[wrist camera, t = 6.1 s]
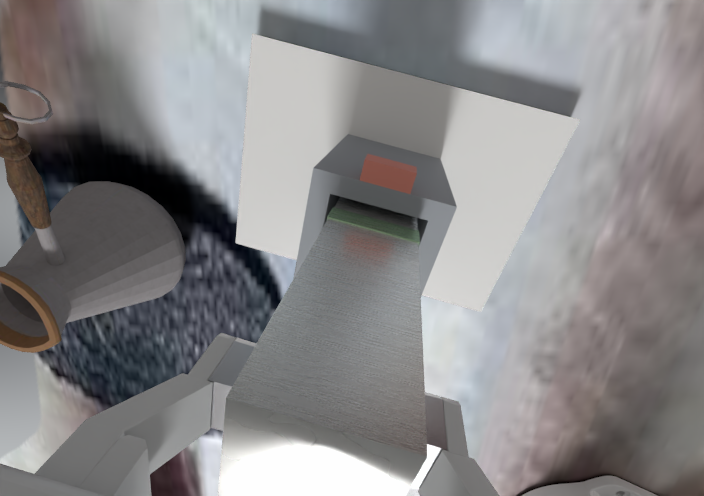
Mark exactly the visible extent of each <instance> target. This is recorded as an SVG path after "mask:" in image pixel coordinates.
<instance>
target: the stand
mask: <svg viewBox="0 0 704 496" xmlns="http://www.w3.org/2000/svg"><path fill="white" fill-rule="evenodd" d="M579 122H580V120H579V119H576V118H572V117H568V116H564V115H561V114H557V113H553V112H549V111H545V110H542V109H538V108H534V107H530V106H526V105H523V104H519V103H515V102H511V101H507V100H504V99H500V98H496V97H492V96H488V95H485V94H481V93H477V92H473V91H469V90H465V89H462V88H458V87H454V86H450V85H446V84H443V83H439V82H435V81H431V80H427V79H424V78H420V77H416V76H412V75H408V74H405V73H401V72H397V71H393V70H389V69H386V68H382V67H378V66H374V65H370V64H367V63H363V62H359V61H355V60H351V59H348V58H344V57H340V56H336V55H332V54H328V53H325V52H321V51H317V50H313V49H309V48H306V47H302V46H298V45H294V44H290V43H287V42H283V41H279V40H275V39H271V38H268V37H264V36H260V35H256V34H252V42H251V54H250V67H249V80H248V92H247V105H246V118H245V130H244V143H243V156H242V168H241V181H240V194H239V206H238V219H237V232H236V243H237V244H241V245H244V246H248V247H251V248H255V249H258V250H262V251H265V252H269V253H273V254H276V255H280V256H283V257H287V258H290V259H294V260H297V262H296V267H295V273H294V277H295V276H296V274H297V272H298V270H299V269H300V267H301V265H302V263H303V262H304V260H305V258H306V256H307V255H308V253H309V251H310V249H311V248H312V246H313V244H314V242H315V241H316V239H317V237H318V235H319V233H320V232H321V230H322V228H323V226H324V225H325V223H326V221H327V217H328V215H329V213H330V211H331V210H332V208H333V207H335V205H336V204H337V202H338V200H339V198H340V197H344V198H347V199H351V200H355V201H358V202H362V203H366V204H369V205H373V206H376V207H380V208H384V209H387V210H391V211H395V212H398V213H402V214H406V215H409V216H413V217H417V225H418V231H419V237H420V243H419V246H418V249H419V272H420V296H421V295H422V296H426V297H429V298H433V299H436V300H440V301H443V302H447V303H451V304H454V305H458V306H461V307H465V308H468V309H472V310H476V311H479V312H481V311H482V309H483V307H484V305H485V303H486V301H487V299H488V298H489V296H490V294H491V292H492V290H493V288H494V286H495V284H496V282H497V280H498V278H499V276H500V274H501V272H502V270H503V269H504V267H505V265H506V263H507V261H508V259H509V257H510V255H511V253H512V251H513V249H514V247H515V245H516V243H517V241H518V240H519V238H520V236H521V234H522V232H523V230H524V228H525V226H526V224H527V222H528V220H529V218H530V216H531V214H532V213H533V211H534V209H535V207H536V205H537V203H538V201H539V199H540V197H541V195H542V193H543V191H544V189H545V187H546V185H547V184H548V182H549V180H550V178H551V176H552V174H553V172H554V170H555V168H556V166H557V164H558V162H559V160H560V158H561V156H562V155H563V153H564V151H565V149H566V147H567V145H568V143H569V141H570V139H571V137H572V135H573V133H574V131H575V129H576V127H577V126H578V124H579Z"/></svg>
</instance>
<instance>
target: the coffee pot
mask: <svg viewBox="0 0 704 496" xmlns="http://www.w3.org/2000/svg"><path fill="white" fill-rule="evenodd" d="M7 86H10V87H15V88H20V89H24V90H27V91H29V92H31V93H34V94H36V95H38V96H40V97H41V98H42V99H43V100H44V101H45V103H46V104H47V105H48V107H49V111H48V112H47V113H46V115H45V116H44V117H40V118H35V119H25V118H20V117H15V116H12V114H11V113H10V112H9V111H8V109H7V108H6V106H5V105H4V104H2V103H0V157H3V158H4V161H5V166H6V173H7V182H8V184H9V186H10V188H11V189H12V191H13V193H14V195H15V197H16V198H17V200H18V202H19V204H20V205H21V207H22V209H23V211H24V212H25V214H26V216H27V217H28V219H29V221H30V223H31V224H32V226H33V227H34V228H35V231H34V233H33V234H32V235H31V236H30V237H29V239H28V240H27V241H26V242H25V243H24V245H23V246H22V247H21V248H20V249H19V251H18V252H17V253H16V254H15V255H14V256H13V258H12V259H11V260H10V261H9V262H8V264H7V265H6V266H4V267H0V344H2V345H5V346H7V347H9V348H11V349H15V350H18V351H22V352H32V353H34V352H39V351H43V350H46V349H48V348H50V347H53V346H54V345H56V344H57V343H59V342H60V341H61V335H62V332H63V330H64V327H65V324H66V323H68V322H71V321H75V320H79V319H82V318H86V317H90V316H93V315H97V314H101V313H104V312H108V311H111V310H115V309H119V308H122V307H126V306H130V305H133V304H137V303H141V302H144V301H148V300H152V299H155V298H159V297H161V296H163V295H164V294H166V293H168V292H169V291H171V290H172V289H173V288H174V286H175V285H176V284H177V283H178V281H179V280H180V278H181V275H182V271H183V268H184V265H185V245H184V242H183V239H182V235H181V232H180V231H179V229H178V227H177V225H176V223H175V222H174V220H173V218H172V217H171V216H170V215H169V214H168V212H167V211H166V210H165V209H164V208H163V207H162V206H161V205H160V204H159V203H157V202H156V201H155V200H154V199H152V198H151V197H150V196H149V195H147V194H145V193H143V192H141V191H139V190H137V189H135V188H133V187H131V186H127V185H123V184H119V183H115V182H109V181H96V182H87V183H84V184H82V185H79V186H76V187H74V188H73V189H72V190H71V191H70V192H68V193H67V194H66V195H65V196H64V197H63V198H62V199H61V200H60V202H59V203H58V204H57V205H56V206H55V208H54V209H53V210H52V211H51V212H50V213H49V209H48V204H47V200H46V195H45V191H44V186H43V182H42V178H41V176H40V175H39V173H38V172H37V171H36V169H35V167H34V166H33V164H32V163H31V161H30V159H29V158H28V155H29V154H30V151H31V147H30V144H29V143H28V142H27V141H26V140H25V139H23V138H21V137H19V136H18V134H17V132H18V129H19V128H18V125H17V122H22V123H28V124H36V123H40V122H45V121H47V120H48V119H49V118H50V117H51V116H52V115H53V113H52V109H51V105H50V102H49V101H48V99H47V98H46V97H45V96H44V95H43V94H42V93H41V92H40V91H37V90H35V89H33V88H30V87H28V86H26V85H23V84H18V83H13V82H8V81H5V82H0V87H7ZM16 121H17V122H16Z"/></svg>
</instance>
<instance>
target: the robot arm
mask: <svg viewBox="0 0 704 496" xmlns="http://www.w3.org/2000/svg"><path fill="white" fill-rule="evenodd" d="M255 346H256V343H252V342H249V341H246V340H243V339H240V338H236V337H233V336H229V335H226V334H223V333H220V334H219V335H218V336H216V338H215V339H214V340H213V342H212V343H211V344H210V346H209V347H208V348H207V350H206V351H205V352H204V354H203V355H202V356H201V358H200V359H199V360H198V362H197V363H196V364H195V366H194V367H193V368H192V370H191V371H190V372H189V374H188V375H187V374H183V373H182V374H180V375H178V376H176V377H174V378H172V379H170V380H168V381H166V382H164V383H162V384H159V385H157V386H155V387H153V388H151V389H149V390H147V391H145V392H143V393H141V394H139V395H136V396H134V397H132V398H130V399H128V400H126V401H124V402H122V403H120V404H118V405H116V406H113V407H111V408H109V409H107V410H105V411H103V412H101V413H99V414H97V415H95V416H93V417H90V418H88V419H86V420H85V421H84V422H83V423H82V424H81V425H80V426H79V427H78V428H77V430H76V431H75V432H74V433H73V434H72V435H71V436H70V437H69V438H68V439H67V440H66V441H65V442H64V443H63V444H62V445H61V446H60V447H59V449H58V450H57V451H56V452H55V453H54V454H53V455H52V456H51V457H50V458H49V459H48V460H47V461H46V462H45V463H44V464H43V465H42V466H41V468H40V469H39V470H38V471H37V472H36V473H35V474H32V473H29V472H26V471H23V470H19V469H16V468H13V467H9V466H6V465H3V464H0V496H151V486H150V474H151V473H152V472H153V471H155V470H156V469H158V468H159V467H160V466H162V465H163V464H164V463H166V462H167V461H168V460H170V459H171V458H172V457H174V456H175V455H176V454H178V453H179V452H180V451H182V450H183V449H184V448H186V447H187V446H188V445H190V444H191V443H192V442H194V441H195V440H197V439H198V438H199V437H201V436H202V435H203V434H205V433H206V432H207V431H209V430H210V428H214V429H218V430H222V431H223V428H224V416H225V404H226V397H227V395H228V393H229V392H230V390H231V388H232V386H233V385H234V383H235V381H236V379H237V378H238V376H239V374H240V372H241V371H242V369H243V367H244V365H245V364H246V362H247V360H248V358H249V356H250V355H251V353H252V351H253V349H254V348H255ZM425 413H426V437H427V458H426V460H425V462H424V464H423V465H422V467H421V469H420V471H419V473H418V474H417V476H416V478H415V480H414V481H413V483H412V485H411V487H413V488H416V489H419V491H418V492H419V494H420V496H499V494H498V493H497V492H496V490H495V489H494V487H493V486H492V484H491V483H490V481H489V480H488V479H487V477H486V476H485V474H484V473H483V471H482V470H481V468H480V467H479V465H478V464H477V463H476V461H475V460H474V459H472V458H469V456H468V450H467V444H466V437H465V431H464V425H463V418H462V412H461V405H460V404H459V402H458V401H454V400H451V399H447V398H444V397H440V396H437V395H433V394H430V393H426V392H425ZM522 496H658V495H656V494H653V493H651V492H649V491H647V490H645V489H642V488H640V487H638V486H636V485H633V484H631V483H629V482H627V481H625V480H622V479H620V478H618V477H615V476H601V477H597V478H593V479H590V480H587V481H584V482H578V483H565V484H555V485H549V486H544V487H541V488H537V489H534V490H532V491H529V492H527V493H525V494H523V495H522Z"/></svg>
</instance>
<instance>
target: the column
mask: <svg viewBox="0 0 704 496" xmlns="http://www.w3.org/2000/svg"><path fill="white" fill-rule="evenodd" d="M419 243H420V237H419V231H418V225H417V217H413V216H409V215H406V214H402V213H398V212H395V211H391V210H387V209H384V208H380V207H376V206H373V205H369V204H366V203H362V202H358V201H355V200H351V199H347V198H344V197H340V198H339V200H338V202H337V204H336V205H335V207H333V208H332V210H331V211H330V213H329V215H328V217H327V221H326V223H325V225H324V226H323V228H322V230H321V232H320V233H319V235H318V237H317V239H316V241H315V242H314V244H313V246H312V248H311V249H310V251H309V253H308V255H307V256H306V258H305V260H304V262H303V263H302V265H301V267H300V269H299V270H298V272H297V274H296V276H295V277H294V279H293V281H292V283H291V284H290V286H289V288H288V290H287V291H286V293H285V295H284V297H283V298H282V300H281V302H280V304H279V306H278V307H277V309H276V311H275V313H274V314H273V316H272V318H271V320H270V321H269V323H268V325H267V327H266V328H265V330H264V332H263V334H262V335H261V337H260V339H259V341H258V342H257V344H256V346H255V348H254V349H253V351H252V353H251V355H250V356H249V358H248V360H247V362H246V364H245V365H244V367H243V369H242V371H241V372H240V374H239V376H238V378H237V379H236V381H235V383H234V385H233V386H232V388H231V390H230V392H229V393H228V395H227V397H226V404H225V416H224V428H223V440H222V452H221V463H220V475H219V487H218V496H405V495H406V494H407V492H408V490H409V488H410V487H411V485H412V483H413V481H414V480H415V478H416V476H417V474H418V473H419V471H420V469H421V467H422V465H423V464H424V462H425V460H426V458H427V437H426V413H425V390H424V366H423V343H422V319H421V296H420V272H419V249H418V246H419Z"/></svg>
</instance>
